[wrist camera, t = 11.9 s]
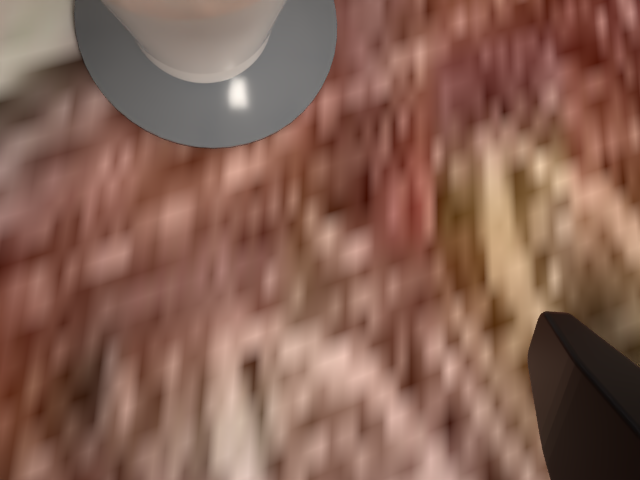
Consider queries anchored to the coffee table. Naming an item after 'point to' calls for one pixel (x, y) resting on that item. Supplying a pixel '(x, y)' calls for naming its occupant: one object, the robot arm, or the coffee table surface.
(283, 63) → the coaster
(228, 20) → the white cup
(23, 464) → the coffee table surface
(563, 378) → the robot arm
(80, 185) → the coffee table surface
